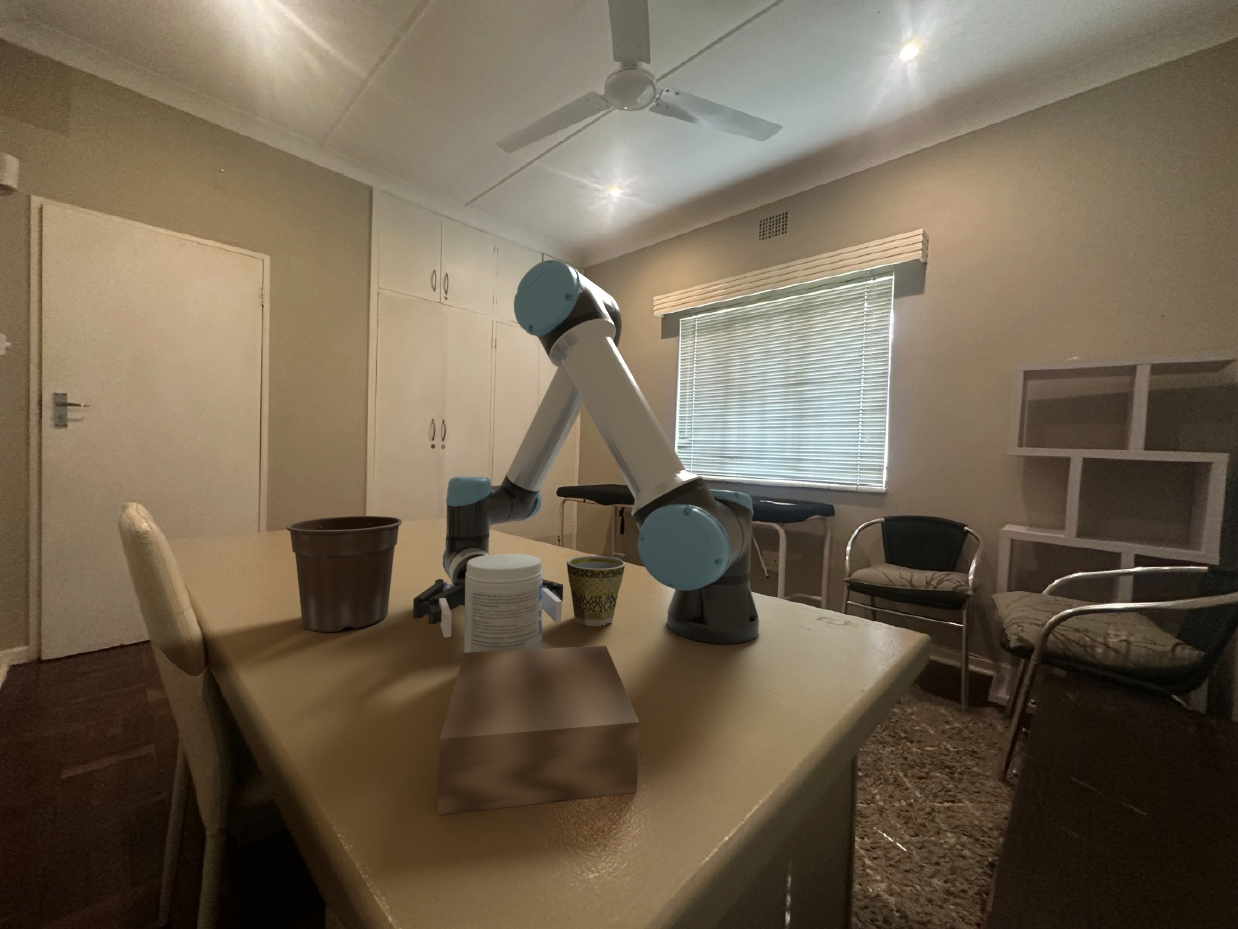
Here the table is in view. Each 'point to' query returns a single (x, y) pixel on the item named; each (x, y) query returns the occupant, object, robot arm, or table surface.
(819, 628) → the table surface
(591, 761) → the block
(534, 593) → the supplement tub
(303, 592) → the plant pot
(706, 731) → the table surface
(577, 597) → the ceramic cup
